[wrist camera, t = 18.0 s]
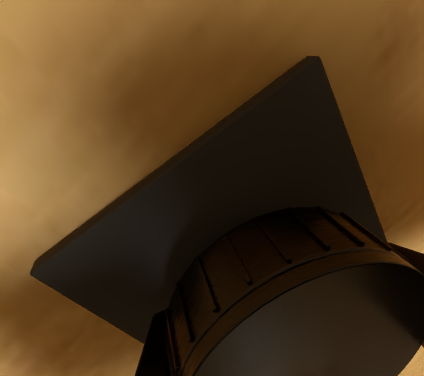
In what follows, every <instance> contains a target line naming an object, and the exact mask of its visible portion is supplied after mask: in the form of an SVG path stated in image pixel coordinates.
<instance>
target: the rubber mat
mask: <svg viewBox="0 0 424 376" xmlns="http://www.w3.org/2000/svg"><path fill="white" fill-rule="evenodd" d="M317 206H321V207H322V208H324V209H329V210H332V211H335V212H338V213H341V212H344V213H346V214H347V215H348V216H350V217H351V218H352V219H354V220H355V221H356V222H358V223H359V224H361V225H362V226H364V227H365V228H366V229H368V230H369V231H371V232H372V233H373V234H375V235H376V236H377V237H379V238H380V239H381V240H383V241H386V242H387V240H386V238H385V235H384V232H383V229H382V227H381V224H380V221H379V218H378V216H377V213H376V210H375V207H374V204H373V202H372V199H371V196H370V193H369V191H368V188H367V185H366V182H365V180H364V177H363V174H362V171H361V169H360V166H359V163H358V160H357V158H356V155H355V152H354V149H353V147H352V144H351V141H350V138H349V136H348V133H347V130H346V127H345V125H344V122H343V119H342V116H341V114H340V111H339V108H338V105H337V102H336V100H335V97H334V94H333V91H332V89H331V86H330V83H329V80H328V78H327V75H326V72H325V69H324V67H323V64H322V61H321V58H320V57H319V56H307V57H306V58H304V59H303V60H302V61H300V62H299V63H298V64H296V65H295V66H294V67H292V68H291V69H290V70H288V71H287V72H286V73H284V74H283V75H282V76H280V77H279V78H278V79H276V80H275V81H274V82H272V83H271V84H270V85H268V86H267V87H266V88H264V89H263V90H262V91H260V92H259V93H258V94H256V95H255V96H254V97H252V98H251V99H250V100H248V101H247V102H246V103H244V104H243V105H242V106H240V107H239V108H238V109H236V110H235V111H234V112H232V113H231V114H230V115H228V116H227V117H226V118H224V119H223V120H222V121H220V122H219V123H218V124H216V125H215V126H214V127H213V128H211V129H210V130H209V131H207V132H206V133H205V134H203V135H202V136H201V137H199V138H198V139H197V140H195V141H194V142H193V143H191V144H190V145H189V146H187V147H186V148H185V149H183V150H182V151H181V152H179V153H178V154H177V155H175V156H174V157H173V158H171V159H170V160H169V161H167V162H166V163H165V164H163V165H162V166H161V167H159V168H158V169H157V170H155V171H154V172H153V173H151V174H150V175H149V176H147V177H146V178H145V179H143V180H142V181H141V182H139V183H138V184H137V185H135V186H134V187H133V188H131V189H130V190H129V191H127V192H126V193H125V194H123V195H122V196H121V197H120V198H118V199H117V200H116V201H114V202H113V203H112V204H110V205H109V206H108V207H106V208H105V209H104V210H102V211H101V212H100V213H98V214H97V215H96V216H94V217H93V218H92V219H90V220H89V221H88V222H86V223H85V224H84V225H82V226H81V227H80V228H78V229H77V230H76V231H74V232H73V233H72V234H70V235H69V236H68V237H66V238H65V239H64V240H62V241H61V242H60V243H58V244H57V245H56V246H54V247H53V248H52V249H50V250H49V251H48V252H46V253H45V254H44V255H42V256H41V257H40V258H38V259H37V260H36V261H35V262H34V264H33V267H32V269H31V271H30V275H31V276H33V277H34V278H36V279H38V280H39V281H41V282H43V283H44V284H46V285H48V286H49V287H51V288H53V289H54V290H56V291H58V292H59V293H61V294H62V295H64V296H66V297H67V298H69V299H71V300H72V301H74V302H76V303H77V304H79V305H81V306H82V307H84V308H86V309H87V310H89V311H91V312H92V313H94V314H96V315H97V316H99V317H101V318H102V319H104V320H106V321H107V322H109V323H110V324H112V325H114V326H115V327H117V328H119V329H120V330H122V331H124V332H125V333H127V334H129V335H130V336H132V337H134V338H135V339H137V340H139V341H140V342H142V343H144V344H145V341H146V337H147V334H148V331H149V328H150V324H151V321H152V318H153V315H154V314H156V313H158V312H160V311H163V310H166V308H168V307H169V304H170V300H171V297H172V295H173V292H174V290H175V288H176V286H175V285H176V283H177V282H179V280H180V279H181V277H182V276H183V274H184V273H185V271H186V270H187V268H188V267H189V266H190V265H191V263H192V262H193V261H194V260H195V258H196V257H197V256H199V255H200V254H201V253H202V252H203V251H204V250H205V249H206V248H207V247H208V246H209V245H210V244H212V243H213V242H214V241H216V240H217V239H218V238H220V237H221V236H222V235H223V234H224V233H227V232H228V231H229V230H232V228H234V227H236V226H238V225H240V224H242V223H244V222H246V221H248V220H251V219H253V218H254V217H256V216H260V215H263V214H266V213H269V212H273V211H275V210H279V209H285V208H287V207H291V208H294V207H317Z"/></svg>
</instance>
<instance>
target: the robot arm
mask: <svg viewBox="0 0 424 376" xmlns="http://www.w3.org/2000/svg"><path fill="white" fill-rule="evenodd" d="M384 242H385V243H387V244H388V245H390V246H391V247H392V248H394V249H395V250H396V251H398V252H399V253H400V254H402V255H403V256H404V257H406V258H407V259H408V260H409V261H410V262H409V264H411V265H412V266H413V267H415V268H416V269H417V270H419V271H420V272H421V273H422V274H423V275H424V254H423V253H420V252H417V251H413V250H410V249H407V248H404V247H401V246H398V245H395V244H392V243H389V242H386V241H384ZM165 331H167V323H166V313H165V310H163V311H160V312H158V313H156V314H154V315H153V318H152V321H151V324H150V328H149V331H148V334H147V337H146V341H145V344H144V347H143V350H142V354H141V357H140V360H139V363H138V367H137V370H136V373H135V376H170V370H169V360H168V354H167V349H166V342H165V335H164V332H165ZM422 346H423V347H424V341H423V343H422Z"/></svg>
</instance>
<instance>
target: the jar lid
mask: <svg viewBox="0 0 424 376" xmlns="http://www.w3.org/2000/svg"><path fill="white" fill-rule="evenodd" d="M409 262H410V261H409V260H408V259H407V258H406V257H404V256H403V255H402V254H400V253H399V252H398V251H396V250H395V249H394V248H392V247H391V246H390V245H388V244H387V243H385V242H384V241H383V240H381V239H380V238H379V237H377V236H376V235H375V234H373V233H372V232H371V231H369V230H368V229H366V228H365V227H364V226H362V225H361V224H359V223H358V222H356V221H355V220H354V219H352V218H351V217H350V216H348V215H347V214H346V213H344V212H341V213H338V212H335V211H332V210H329V209H324V208H322V207H321V206H317V207H294V208H291V207H287V208H285V209H279V210H275V211H273V212H269V213H266V214H263V215H260V216H256V217H254V218H253V219H251V220H248V221H246V222H244V223H242V224H240V225H238V226H236V227H234V228H232V230H229V231H228V232H227V233H224V234H223V235H222V236H221V237H220V238H218V239H217V240H216V241H214V242H213V243H212V244H210V245H209V246H208V247H207V248H206V249H205V250H204V251H203V252H202V253H201V254H200V255H199V256H197V257H196V258H195V260H194V261H193V262H192V263H191V265H190V266H189V267H188V268H187V270H186V271H185V273H184V274H183V276H182V277H181V279H180V280H179V282H177V283H176V285H175V286H176V288H175V290H174V292H173V295H172V297H171V300H170V304H169V307H168V308H166V310H165V313H166V323H167V331H165V332H164V335H165V342H166V349H167V354H168V360H169V370H170V376H398V375H399V373H400V372H401V371H402V370H403V369H404V368H405V367H406V366H407V364H408V363H409V362H410V361H411V359H412V358H413V357H414V355H415V354H416V352H417V351H418V349H419V348H420V346H421V345H422V343H423V341H424V275H423V274H422V273H421V272H420V271H419V270H417V269H416V268H415V267H413V266H412V265H411V264H409Z"/></svg>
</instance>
